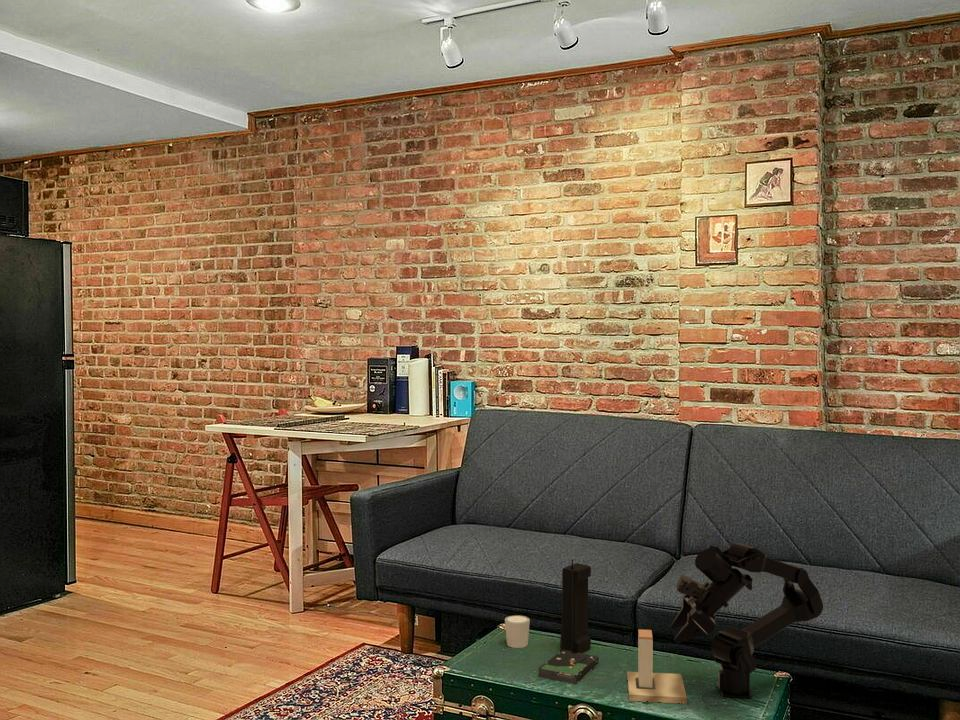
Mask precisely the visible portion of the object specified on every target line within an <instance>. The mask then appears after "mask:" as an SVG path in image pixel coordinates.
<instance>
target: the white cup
mask: <svg viewBox="0 0 960 720" xmlns="http://www.w3.org/2000/svg"><path fill="white" fill-rule="evenodd" d="M530 622H531V620H530V618H529V617H528V616H525V615H509V616H506V617H505V618H504V626H505V637H506V645H507V646H508V647H510V648H513V649H521V648H525V647H528V643H529V634H530V633H529V632H530Z"/></svg>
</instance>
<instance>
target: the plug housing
mask: <svg viewBox="0 0 960 720" xmlns="http://www.w3.org/2000/svg"><path fill="white" fill-rule="evenodd" d="M637 636H638V637H637V639H638V640H637V643H638V645H637V647H638V649H637V650H638V652H637V655H638V656H637V658H638V659H637V664H638V666H637V668H638V669H637V672H638V681H639V687H645V688H652V681H653V673H654V672H653V667H654V666H653V659H654V658H653V657H654V656H653V651H654V650H653V647H654V646H653V645H654V644H653V642H654V641H653V639H654V638H653V632H652V629H638V635H637Z"/></svg>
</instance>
